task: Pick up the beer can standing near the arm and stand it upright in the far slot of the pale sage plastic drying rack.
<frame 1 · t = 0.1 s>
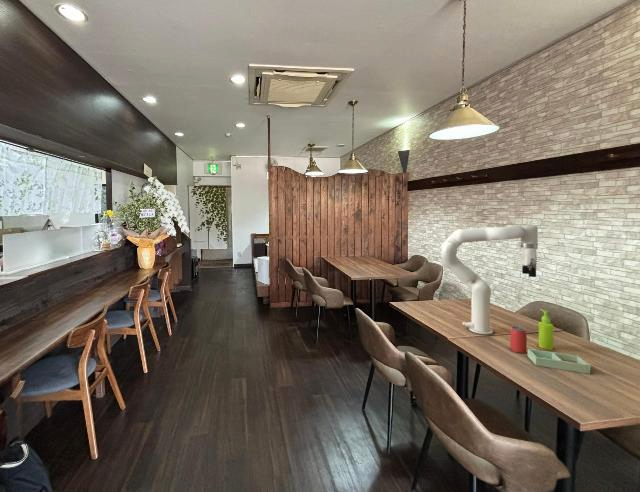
hand: (528, 275, 169), 37 cm above the table, tool pointing down, fingers open, 9 cm apart
beer can: (518, 351, 152), on the table
rack: (556, 364, 138), on the table
soap dispenser: (545, 347, 156), on the table
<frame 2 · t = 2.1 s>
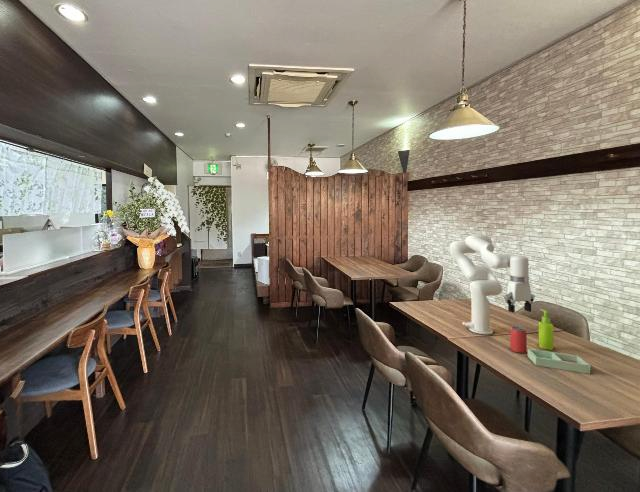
hand: (519, 311, 152), 21 cm above the table, tool pointing down, fingers open, 9 cm apart
nothing on the table moved.
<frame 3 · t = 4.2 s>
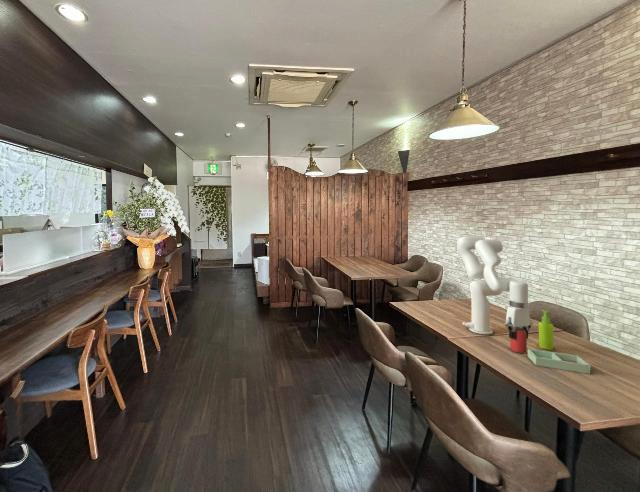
hand: (518, 337, 152), 7 cm above the table, tool pointing down, fingers closed on beer can, 6 cm apart
beer can: (518, 351, 152), on the table, touching gripper
everything else where it was.
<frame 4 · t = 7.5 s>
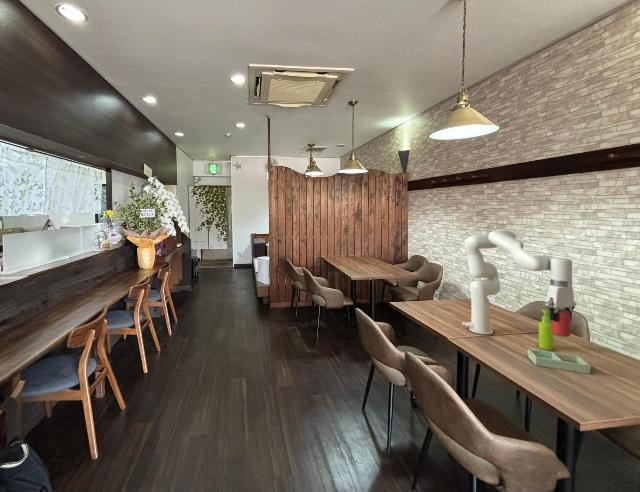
hand: (560, 319, 139), 21 cm above the table, tool pointing down, fingers closed on beer can, 6 cm apart
beer can: (560, 334, 139), point 14 cm above the table, touching gripper
everything else where it was.
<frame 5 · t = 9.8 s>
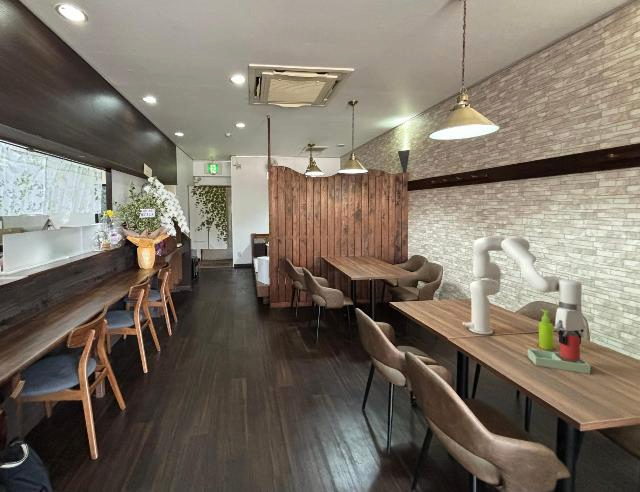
hand: (569, 343, 136), 11 cm above the table, tool pointing down, fingers closed on beer can, 6 cm apart
beer can: (569, 358, 136), point 4 cm above the table, touching gripper
everything else where it was.
when the fingers open (8 cm above the table, at t = 11.1 s): beer can stays where it is, resting on rack.
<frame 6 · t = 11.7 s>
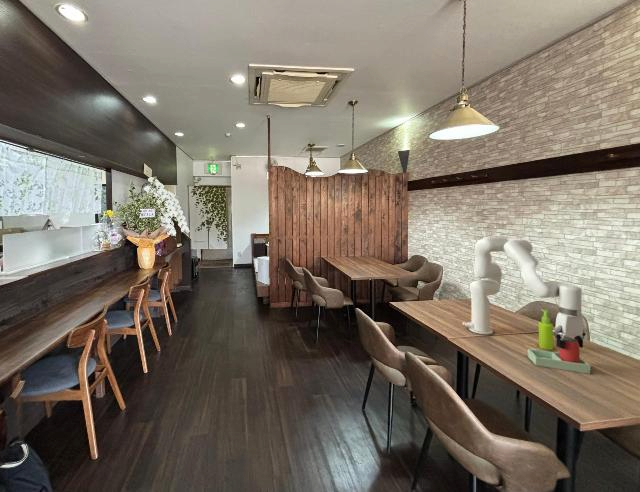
hand: (569, 347, 136), 9 cm above the table, tool pointing down, fingers open, 9 cm apart
beer can: (569, 364, 136), point 1 cm above the table, touching rack
everything else where it was.
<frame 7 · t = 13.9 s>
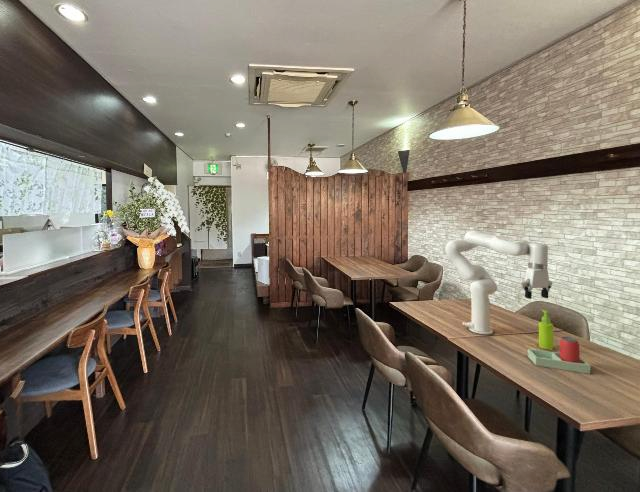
hand: (536, 297, 154), 28 cm above the table, tool pointing down, fingers open, 9 cm apart
nothing on the table moved.
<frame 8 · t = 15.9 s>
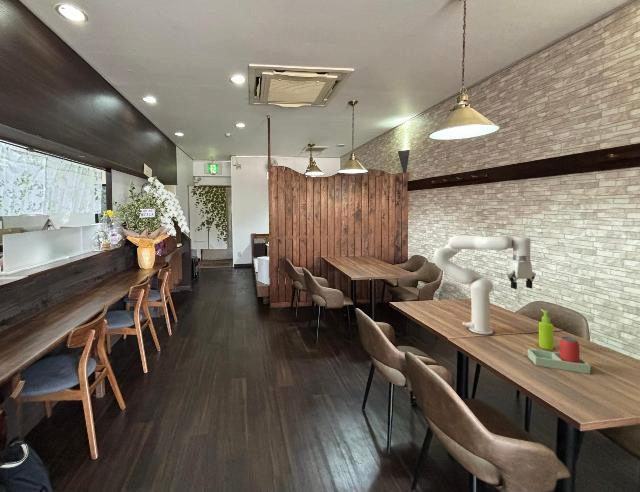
hand: (521, 288, 164), 30 cm above the table, tool pointing down, fingers open, 9 cm apart
nothing on the table moved.
at the end: beer can 0.1 cm from the target spot in the rack, point 0.8 cm above the rack's base; beer can tilted 0°; the gripper is holding nothing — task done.
